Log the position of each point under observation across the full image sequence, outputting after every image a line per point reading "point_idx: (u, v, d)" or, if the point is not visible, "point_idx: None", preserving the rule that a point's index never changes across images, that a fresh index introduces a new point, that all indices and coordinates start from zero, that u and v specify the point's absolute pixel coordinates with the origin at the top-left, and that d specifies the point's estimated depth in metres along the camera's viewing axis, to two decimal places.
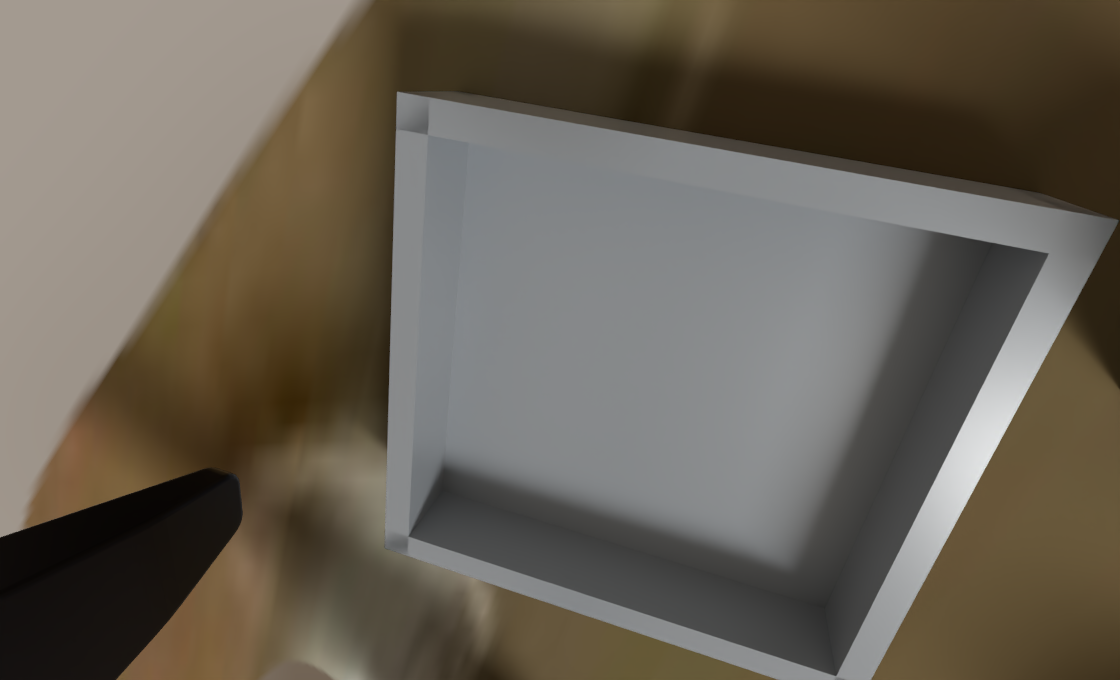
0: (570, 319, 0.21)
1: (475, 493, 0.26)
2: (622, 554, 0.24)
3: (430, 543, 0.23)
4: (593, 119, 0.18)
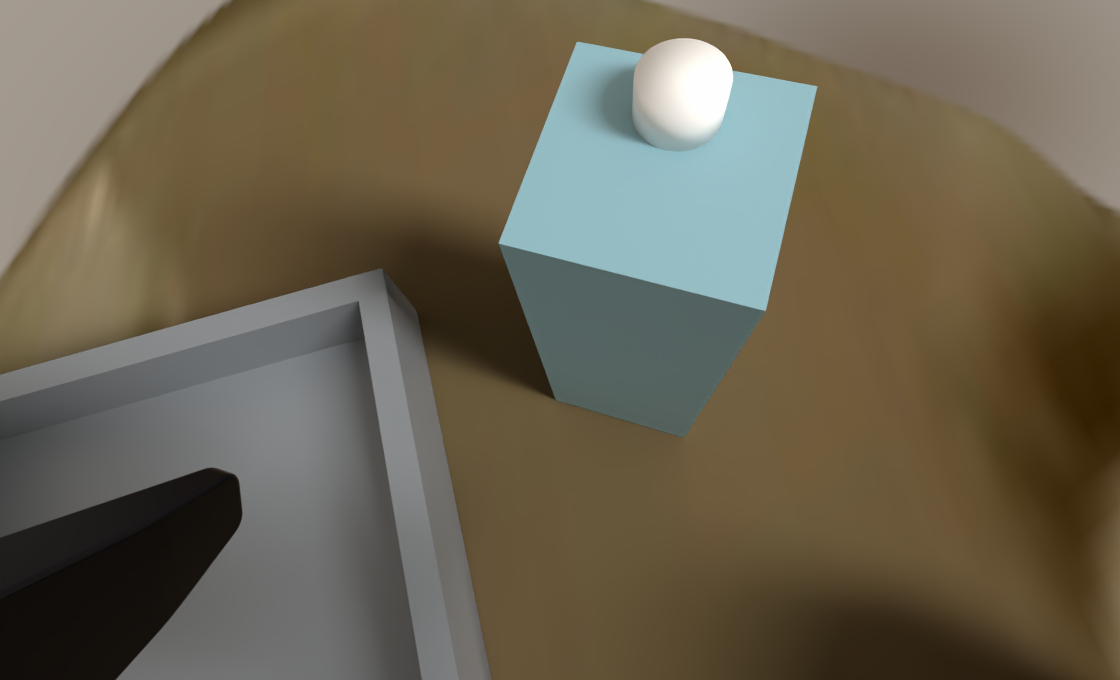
0: None
1: None
2: None
3: None
4: None
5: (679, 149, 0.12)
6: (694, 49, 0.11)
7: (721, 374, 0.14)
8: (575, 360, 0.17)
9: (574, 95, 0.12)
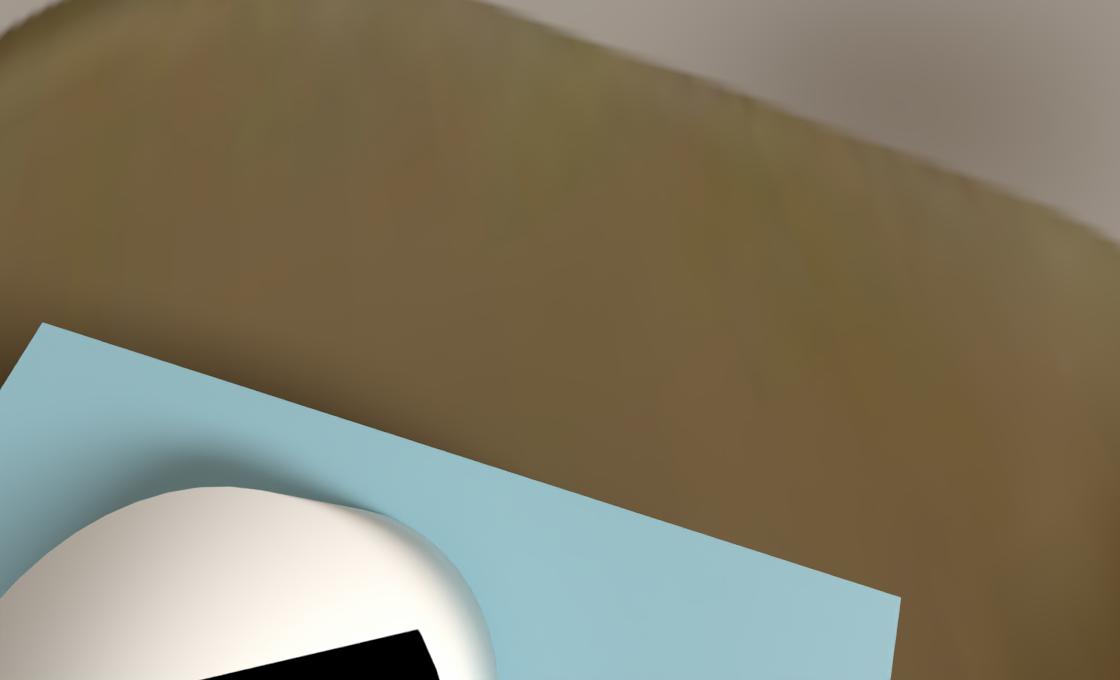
0: None
1: None
2: None
3: None
4: None
5: None
6: (271, 565, 0.02)
7: None
8: None
9: None
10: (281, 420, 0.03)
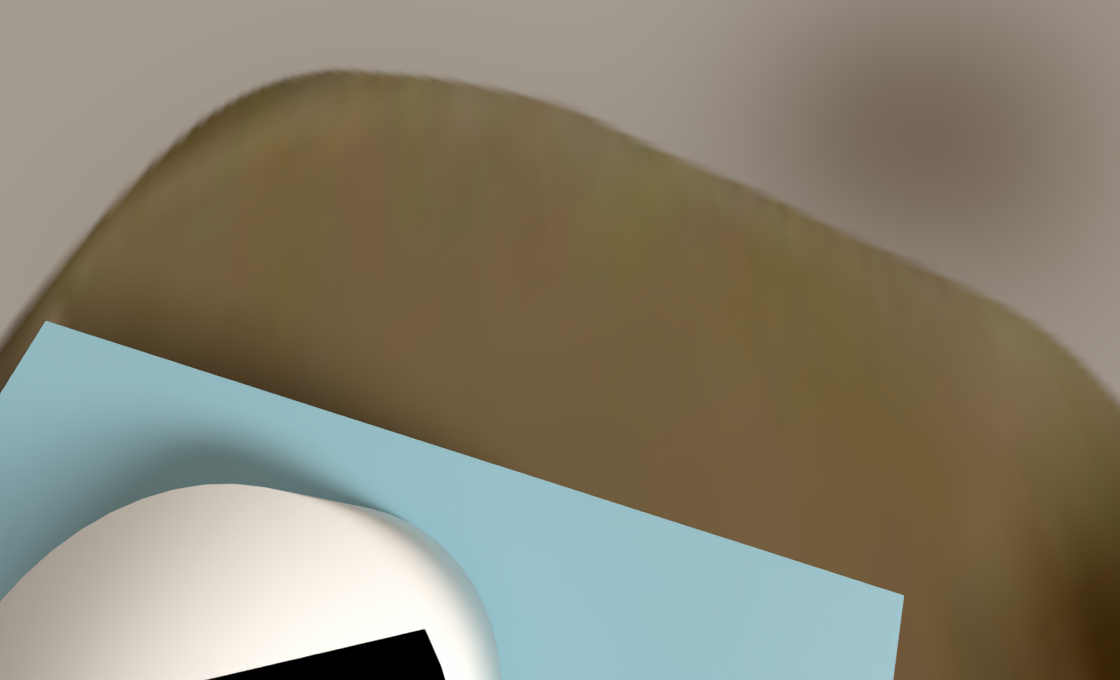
0: None
1: None
2: None
3: None
4: None
5: None
6: (277, 562, 0.02)
7: None
8: None
9: None
10: (284, 418, 0.03)
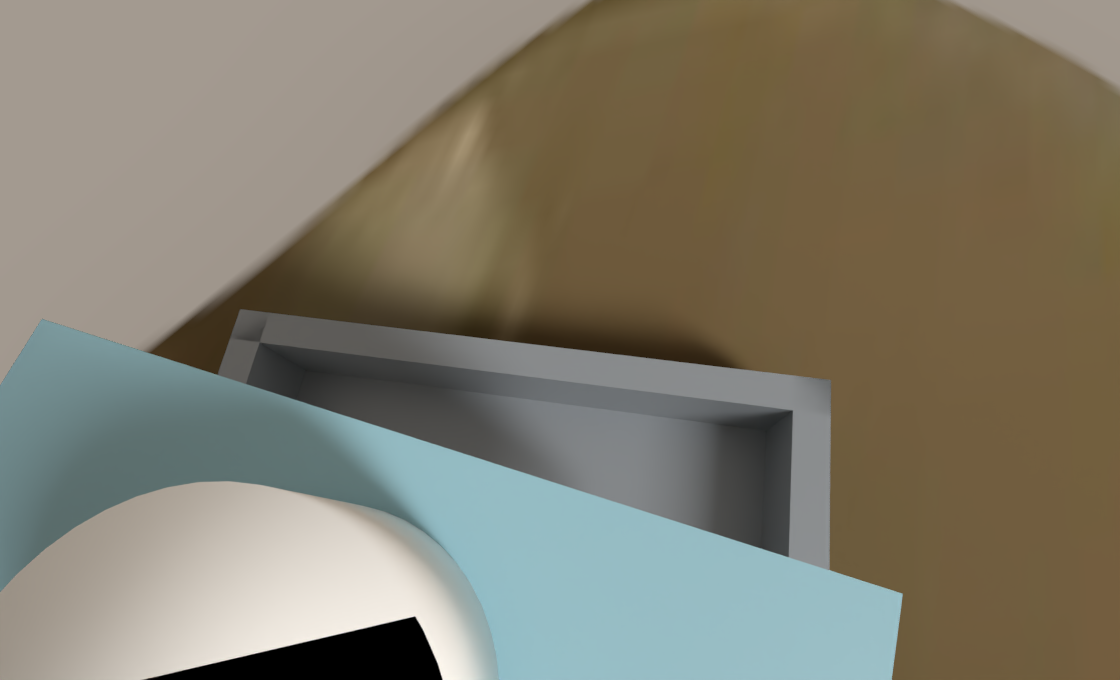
0: None
1: None
2: None
3: None
4: None
5: None
6: (270, 560, 0.02)
7: None
8: None
9: None
10: (281, 417, 0.03)
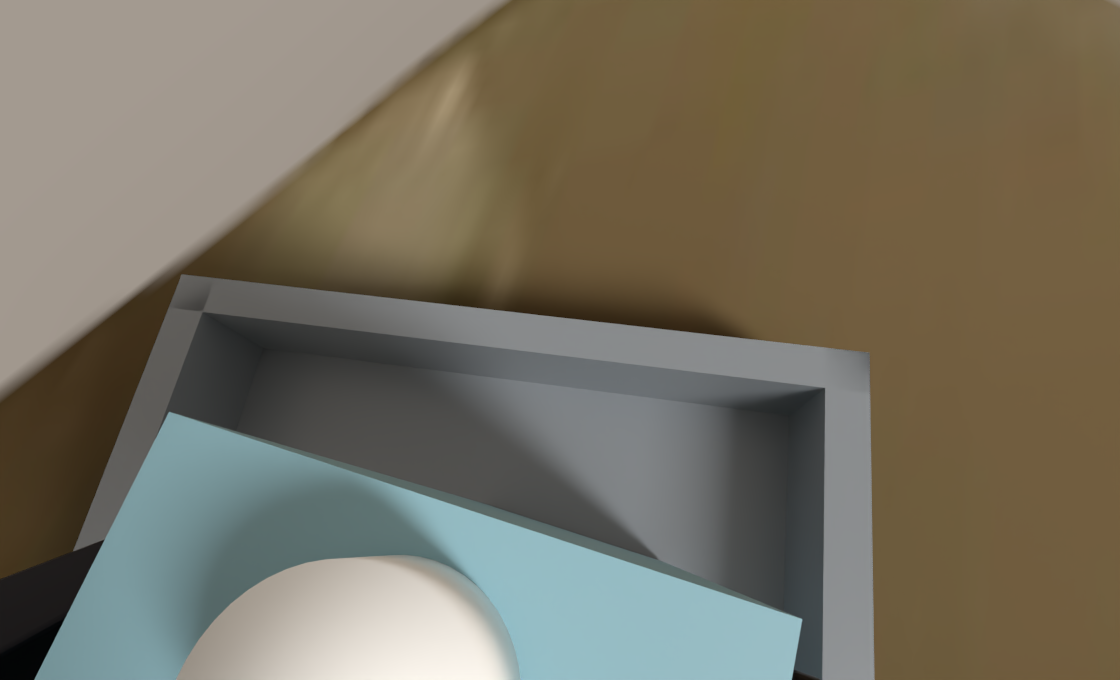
0: None
1: None
2: None
3: None
4: None
5: None
6: (377, 611, 0.03)
7: None
8: None
9: (121, 603, 0.04)
10: (356, 489, 0.04)
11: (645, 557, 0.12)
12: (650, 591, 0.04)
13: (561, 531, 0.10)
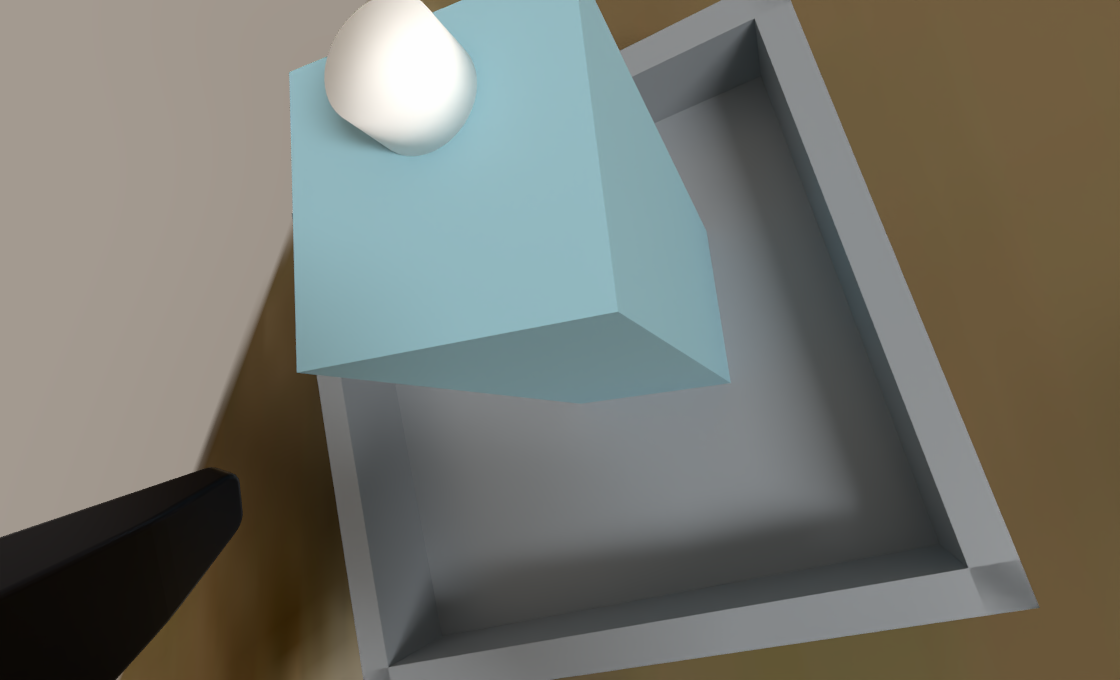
0: None
1: (476, 617, 0.21)
2: (657, 599, 0.18)
3: (413, 663, 0.18)
4: None
5: (438, 144, 0.08)
6: (378, 12, 0.08)
7: (677, 351, 0.11)
8: (539, 388, 0.14)
9: (308, 141, 0.10)
10: None
11: None
12: None
13: None
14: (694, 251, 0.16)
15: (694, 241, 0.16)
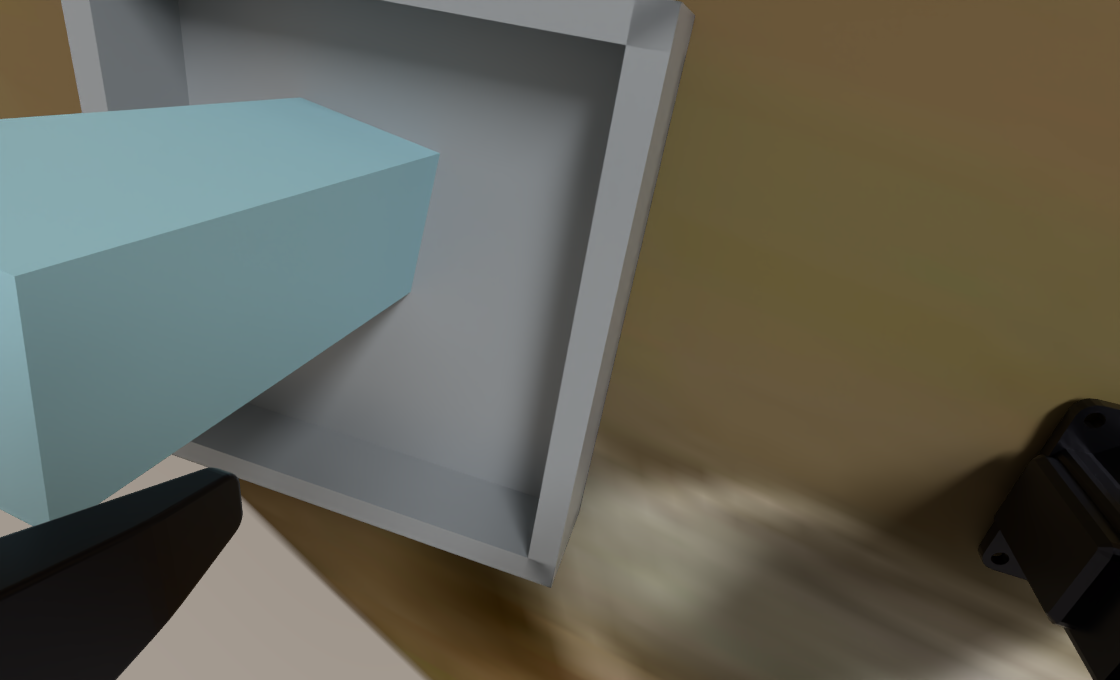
0: (340, 340, 0.23)
1: None
2: None
3: (532, 537, 0.20)
4: None
5: None
6: None
7: (242, 213, 0.11)
8: (303, 331, 0.15)
9: None
10: None
11: None
12: None
13: None
14: (261, 129, 0.16)
15: (256, 123, 0.16)
